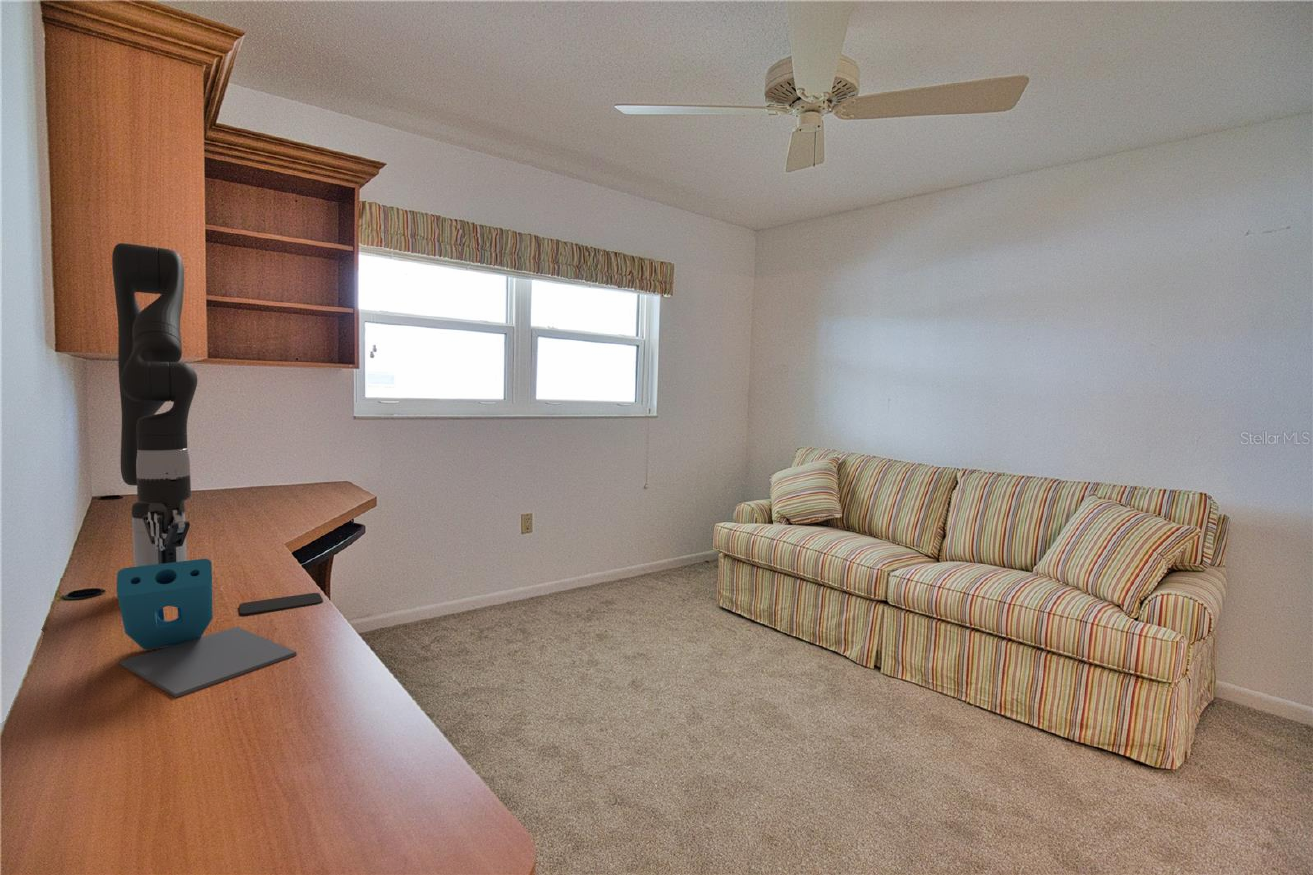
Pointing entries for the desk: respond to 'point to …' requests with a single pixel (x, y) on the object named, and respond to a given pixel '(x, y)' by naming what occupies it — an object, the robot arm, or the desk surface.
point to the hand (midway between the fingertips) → (167, 569)
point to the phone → (279, 604)
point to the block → (165, 601)
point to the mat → (206, 660)
